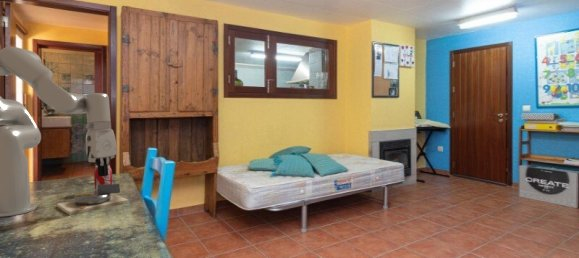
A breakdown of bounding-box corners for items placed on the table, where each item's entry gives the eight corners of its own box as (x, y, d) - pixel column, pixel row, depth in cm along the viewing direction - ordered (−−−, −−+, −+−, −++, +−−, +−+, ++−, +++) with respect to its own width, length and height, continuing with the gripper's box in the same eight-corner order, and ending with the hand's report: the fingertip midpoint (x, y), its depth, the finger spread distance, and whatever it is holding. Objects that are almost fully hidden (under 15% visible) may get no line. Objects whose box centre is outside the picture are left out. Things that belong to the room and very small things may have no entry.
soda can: (99, 195, 143) (97, 167, 142) (92, 192, 147) (90, 166, 146) (115, 191, 148) (114, 165, 148) (108, 189, 153) (107, 164, 152)
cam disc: (80, 207, 120) (79, 191, 119) (70, 201, 128) (69, 186, 127) (122, 198, 131) (121, 184, 130) (110, 193, 139) (110, 179, 138)
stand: (69, 215, 116) (69, 206, 115) (57, 206, 126) (56, 198, 126) (128, 202, 131) (128, 194, 130) (112, 195, 141) (112, 188, 141)
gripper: (89, 127, 114) (94, 180, 115) (123, 125, 128) (126, 171, 129) (73, 128, 116) (77, 179, 117) (107, 125, 130) (111, 171, 131)
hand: (103, 175), depth 123 cm, fingers closed
